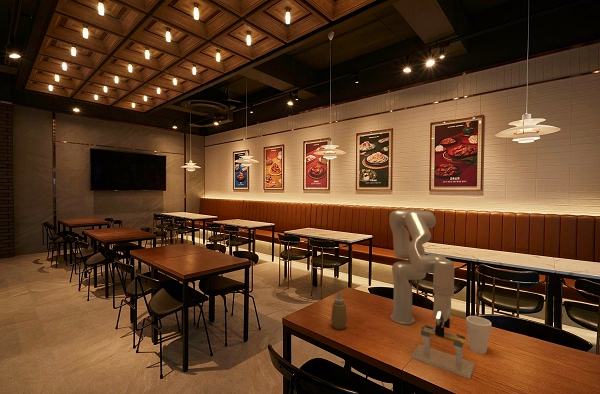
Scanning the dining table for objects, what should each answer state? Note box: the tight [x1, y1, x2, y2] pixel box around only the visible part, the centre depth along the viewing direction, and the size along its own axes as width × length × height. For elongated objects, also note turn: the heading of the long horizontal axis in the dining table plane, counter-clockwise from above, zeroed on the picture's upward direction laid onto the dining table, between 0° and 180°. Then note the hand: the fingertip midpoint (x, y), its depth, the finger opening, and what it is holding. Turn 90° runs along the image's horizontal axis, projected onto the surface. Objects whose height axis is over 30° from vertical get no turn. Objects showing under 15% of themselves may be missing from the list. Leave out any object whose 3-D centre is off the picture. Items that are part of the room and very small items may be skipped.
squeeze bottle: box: [330, 291, 348, 330], centre depth 142 cm, size 8×8×18 cm
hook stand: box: [411, 325, 475, 380], centre depth 113 cm, size 10×21×12 cm, turn 50°
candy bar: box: [420, 325, 468, 344], centre depth 114 cm, size 17×4×2 cm, turn 50°
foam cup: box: [465, 315, 492, 355], centre depth 122 cm, size 10×9×13 cm
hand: (442, 331), depth 113 cm, fingers open, 9 cm apart
